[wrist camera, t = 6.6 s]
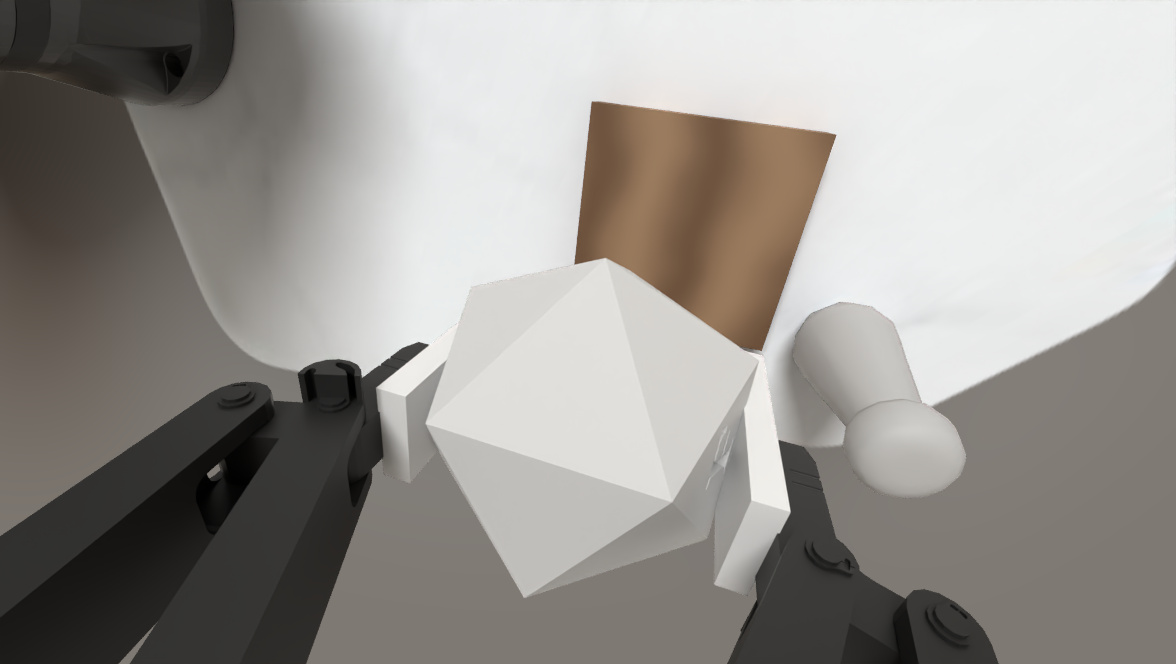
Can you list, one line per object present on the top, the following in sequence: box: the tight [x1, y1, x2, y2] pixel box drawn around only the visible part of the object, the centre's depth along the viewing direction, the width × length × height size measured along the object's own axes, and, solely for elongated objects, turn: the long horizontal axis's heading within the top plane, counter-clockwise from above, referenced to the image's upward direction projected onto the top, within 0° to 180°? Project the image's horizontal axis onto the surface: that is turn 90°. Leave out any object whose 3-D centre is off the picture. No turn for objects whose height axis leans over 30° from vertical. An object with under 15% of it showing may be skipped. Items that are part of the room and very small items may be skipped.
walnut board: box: [574, 102, 836, 351], centre depth 28 cm, size 13×13×2 cm
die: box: [425, 258, 759, 598], centre depth 13 cm, size 8×9×10 cm
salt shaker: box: [793, 302, 966, 498], centre depth 24 cm, size 6×6×13 cm
